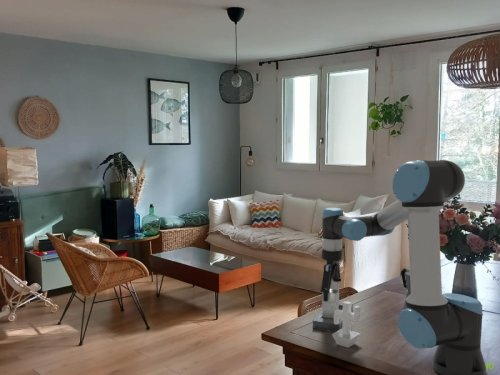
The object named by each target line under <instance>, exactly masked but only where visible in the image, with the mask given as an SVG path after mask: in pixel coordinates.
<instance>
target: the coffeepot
mask: <svg viewBox="0 0 500 375" xmlns="http://www.w3.org/2000/svg"><path fill="white" fill-rule="evenodd" d="M400 277H401V280H402V284H403V287H404V288H405V289H407V293H406V295H405V296H406V297H405V301H404V306H403V308H404V309H406V298H407V297H408V296H409V295H410V294H411V283H410V268H409V269H407V268H405V267H404V268H402V270H401V271H400Z"/></svg>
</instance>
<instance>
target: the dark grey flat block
mask: <svg viewBox="0 0 500 375" xmlns="http://www.w3.org/2000/svg"><path fill="white" fill-rule="evenodd" d="M342 309H343V302H339V310H342ZM351 312H352V313H354V304H353V303H351ZM342 325H343V319H342V318H339V324H337V325H335V324H334V320H331V319H325V318H323V309H321V310H320V312H318V314H317V315H316V316H315V318H314V319H313V320H312V329H315V330H321V331H326V332H333V333H335V332H337V331H338V330H340V329H342Z"/></svg>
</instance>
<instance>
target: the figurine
mask: <svg viewBox="0 0 500 375" xmlns="http://www.w3.org/2000/svg"><path fill="white" fill-rule="evenodd" d="M342 303H343V309H342V310H339V309H336V310H335V311H334V324H335V325H337V324H339V318H342V319H343V325H342V329H340V330H338V331H337V332H333V333H332V334H331V336H332V338H333V339H334V341H335V343H336V345H337V346H341V347H345V348H348V349H349V348H351V347H352V346H353V345H355V344H356V342H357V340H358V338H359V337H360V335H361V332H357V331H353V330H351V322H355V323H359V321H360V317H361V307H360V306H359V305H356V306H354V308H353V312H351V304H352V302H351V301H342Z"/></svg>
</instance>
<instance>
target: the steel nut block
mask: <svg viewBox="0 0 500 375" xmlns="http://www.w3.org/2000/svg"><path fill="white" fill-rule="evenodd" d="M339 303H340V289H339V290H335V289H332V288H330V310H326V309H323V318H325V319H331V320H334V311H335V310H336V309H339Z"/></svg>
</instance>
